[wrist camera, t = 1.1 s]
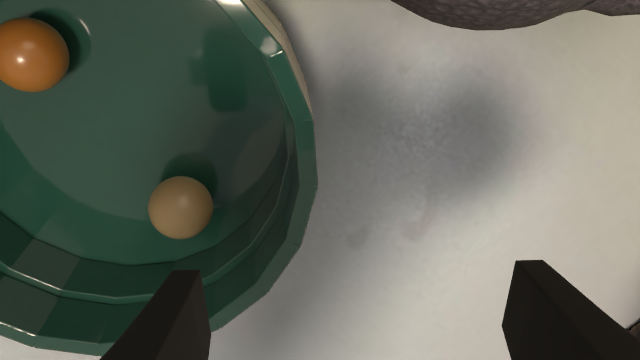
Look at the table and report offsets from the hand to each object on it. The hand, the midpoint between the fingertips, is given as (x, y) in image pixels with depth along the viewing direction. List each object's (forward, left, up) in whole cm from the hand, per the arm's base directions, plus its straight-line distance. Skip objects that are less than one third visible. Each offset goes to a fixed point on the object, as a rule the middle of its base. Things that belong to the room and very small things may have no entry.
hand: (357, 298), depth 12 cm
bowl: (-1, +8, -10) cm, 13 cm away
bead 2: (-3, +5, -8) cm, 10 cm away
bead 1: (+1, +10, -8) cm, 14 cm away
